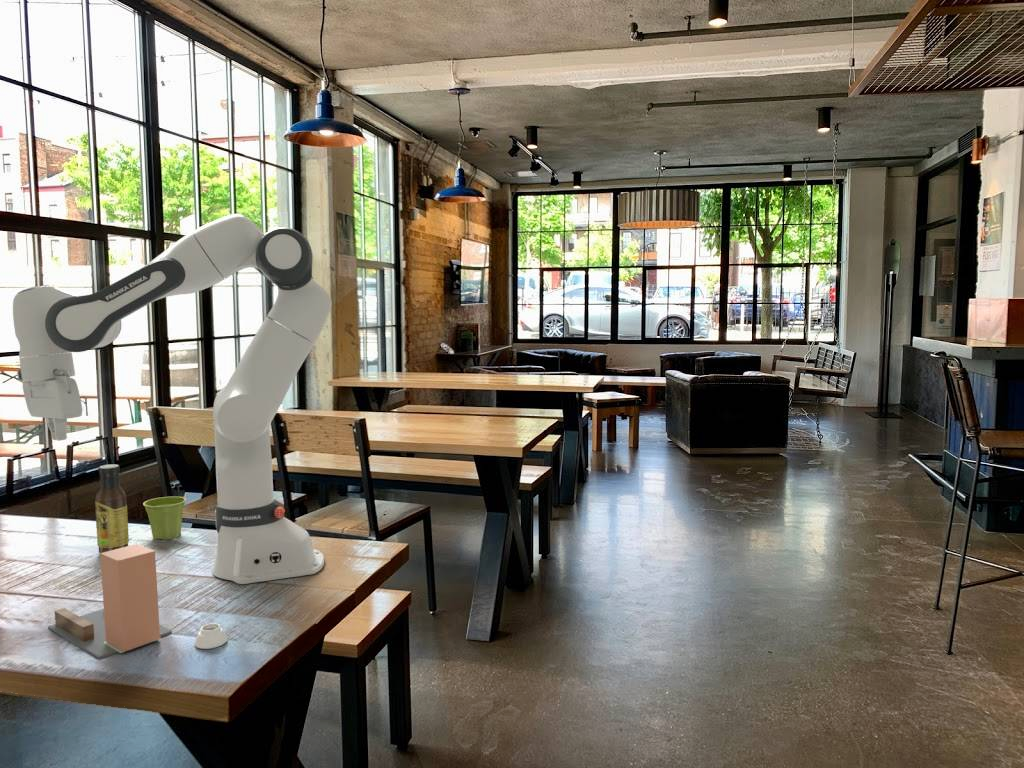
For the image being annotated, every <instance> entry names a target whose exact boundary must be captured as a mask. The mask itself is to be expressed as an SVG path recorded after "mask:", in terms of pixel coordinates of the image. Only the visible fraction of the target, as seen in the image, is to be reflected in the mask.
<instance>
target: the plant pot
mask: <svg viewBox="0 0 1024 768" xmlns="http://www.w3.org/2000/svg"><path fill="white" fill-rule="evenodd" d="M186 502H187V498H186V497H183V496H163V497H156V498H151V499H148V500H146V501H144V502H143V503H142V506H144V508H145V512H146V513H147V517H148V520H149V524H150V525H149V526H150V529H151V534H152V535H151V536H152V538H153V539H154V540H159V539H160V540H164V541H165V540H171V539H175V538H177V537H179V536H181V533H182V524H183V513H184V508H185V503H186Z"/></svg>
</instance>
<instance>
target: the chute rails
mask: <svg viewBox="0 0 1024 768" xmlns="http://www.w3.org/2000/svg"><path fill="white" fill-rule="evenodd" d="M80 616H81V615H78V614H77V613H75V612H73V611H70V610H69V609H67V608H65V607H63V608H60V609H57V610H54V620H55V621H54V622H55V623H54V624H56V625H57V626H58V627H60V628H62V629H64V630H65V631H67V632H69V633H70V634H72V635H74V636H75V637H77V638H79V639H80V640H82V641H84V642H85V641H88V640H91V639H94V627H93V624H92V623H91V622H89V621H87V620H85V619H83V618H82V617H80Z"/></svg>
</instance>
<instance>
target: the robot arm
mask: <svg viewBox="0 0 1024 768" xmlns="http://www.w3.org/2000/svg"><path fill="white" fill-rule="evenodd" d="M313 265H314V253H313V249H312V247H311V245H310V242H309V241H308V239H307V238H306V237H305V235H304V234H302V233H301V232H300V231H298V230H296V229H294V228H291V227H284V226H283V227H281V226H280V227H275V228H272V229H270V230H269V231H267V232H265V233H264V232H262V231H261V230H260V229H259V228H258V226H257V225H256V224H255V223H254V222H253V221H252V220H251V219H250V218H249V217H247V216H245V215H243V214H241V213H233V214H229V215H226V216H223V217H221V218H218V219H215V220H213V221H211V222H209V223H206V224H204V225H202V226H200V227H198V228H197V229H194V230H193V231H191V232H189V233H187V234H186V235H185V236H182V237H181V238H180V239H178V240H176V241H175V242H174V243H172V244H171V245H169V247H167V248H166V249H165V250H163V251H162V252H161V253H160V254H159V255H157V256H156V257H154V258H153V259H152V260H151V261H149V262H148V263H147V264H146V265H144V266H142V267H141V268H139V269H138V270H136V271H134V272H132V273H130V274H129V275H127V276H124V277H122V278H121V279H119V280H117V281H115V282H114V283H112V284H110V285H108V286H106V287H104V288H101V290H98V291H96V292H94V293H91V294H85V295H77V294H74V293H70V292H68V291H65V290H64V289H61V288H59V287H58V286H57V285H53V284H44V285H37V286H32V287H28V288H26V289H22V290H21V291H18V292H17V293H16V294H15V295H14V297H13V300H12V316H13V317H12V318H13V320H12V321H13V326H14V334H15V338H16V339H17V341H18V344H19V353H18V356H19V358H18V359H19V369H18V370H17V372H16V374H17V379H18V382H21V383H22V389H23V396H24V400H25V403H26V407H27V410H28V413H29V414H30V416H31V417H34V418H44V419H45V422H46V425H47V428H48V429H49V431H50V434H51V435H50V436H51V439H52V440H53V441H64V440H67V438H68V436H67V426H68V425H67V424H68V420H69V419H73V418H81V416H82V415H83V406H82V400H81V396H80V391H79V387H78V384H77V382H76V380H75V379H74V378H72V377H75V376H76V372H75V365H74V358H73V353H83V352H87V351H89V350H93V349H94V350H95V349H97V348H103V347H106V346H107V345H109V344H111V343H113V342H114V341H115V340H116V339H117V338H118V337H119V335H120V333H121V330H122V320H123V319H125V318H127V317H128V316H130V315H132V314H134V313H135V312H137V311H139V310H141V309H143V308H144V307H146V306H148V305H149V304H153V302H156V301H158V300H161V299H163V298H168V297H173V296H179V295H188V294H194V293H197V292H200V291H203V290H205V289H208V288H211V287H214V286H215V285H217V284H219V283H221V282H222V281H224V280H225V279H227V278H229V277H230V276H233V275H235V274H236V273H237V272H240V271H241V270H244V269H248V268H254V269H255V270H256V271H257V272H258V273H260V274H261V275H262V276H264V278H266V280H268V281H269V282H271V283H272V284H273V285H275V286H277V297H276V299H275V302H274V303H273V305H272V307H271V309H270V311H269V312H268V313H267V315H266V317H265V318H264V320H263V321H262V324H261V325H260V326H259V328H258V330H257V332H256V333H255V335H254V337H253V338H252V339H251V342H250V343H249V345H248V346H247V348H246V350H245V352H244V353H243V355H242V358H241V359H240V361H239V363H238V365H237V366H236V368H235V370H234V371H233V374H232V375H231V376H230V378H229V380H228V382H227V384H226V385H225V386H224V387H223V388H221V389H220V390H219V392H217V394H216V396H215V398H214V401H213V406H212V407H213V410H212V419H213V425H214V426H213V427H214V428H213V429H214V446H215V447H214V450H215V451H214V452H215V453H214V454H215V477H216V493H217V494H216V495H217V496H216V497H217V504H216V506H215V511H214V514H215V515H214V518H215V528H216V532H217V544H216V545H217V546H216V554H215V560H214V564H213V569H212V575H213V576H215V577H216V578H219V579H223V580H228V581H232V582H234V583H236V584H238V585H246V584H253V583H259V582H267V581H275V580H283V579H287V578H288V579H289V578H294V577H295V578H296V577H302V576H309V575H314V574H317V573H318V572H320V571H321V570H322V569H323V567H324V565H325V557H324V554H323V552H321V551H320V550H319V549H315V548H314V545H313V541H312V538H311V536H310V534H309V531H307V530H306V529H304V528H303V527H301V526H300V525H297V524H296V523H294V522H293V521H292V520H290V519H288V518H286V517H285V512H286V509H285V506H284V502H283V500H280V501H279V500H276V499H274V483H273V460H272V447H271V433H270V431H271V430H270V425H271V424H272V421H273V420H274V417H275V416H276V414H277V412H278V410H279V408H280V406H281V405H282V403H283V401H284V398H285V397H286V395H287V394H288V391H289V390H290V387H291V385H292V383H293V381H294V379H295V377H296V375H297V373H298V372H299V370H300V369H301V367H302V366H303V363H304V362H305V360H306V358H307V357H308V355H309V353H310V352H311V350H312V348H313V347H314V345H315V344H316V342H317V340H318V339H319V336H320V335H321V333H322V330H323V329H324V326H325V324H326V323H327V319H328V317H329V315H330V312H331V308H332V298H331V297H330V294H329V292H327V290H326V289H325V288H324V287H323V286H322V285H320V284H319V283H317V282H316V281H315V280H314V279H313Z"/></svg>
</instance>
